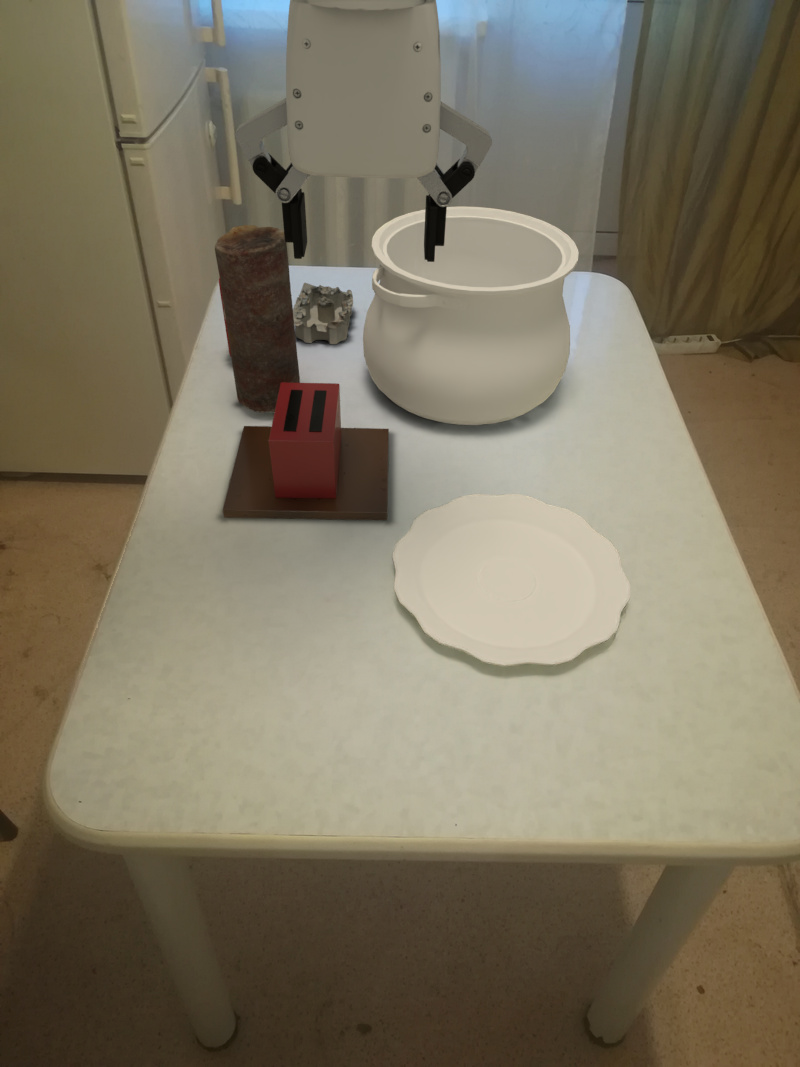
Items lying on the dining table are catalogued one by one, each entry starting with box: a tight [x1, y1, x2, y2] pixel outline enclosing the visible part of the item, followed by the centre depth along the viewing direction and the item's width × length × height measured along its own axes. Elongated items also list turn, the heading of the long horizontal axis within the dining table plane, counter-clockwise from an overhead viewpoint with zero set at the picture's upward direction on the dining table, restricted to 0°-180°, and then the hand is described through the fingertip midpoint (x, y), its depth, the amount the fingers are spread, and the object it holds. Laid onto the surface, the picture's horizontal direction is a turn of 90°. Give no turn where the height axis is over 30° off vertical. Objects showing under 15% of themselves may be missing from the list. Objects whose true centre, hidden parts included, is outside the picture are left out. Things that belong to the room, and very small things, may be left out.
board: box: [222, 425, 390, 521], centre depth 78 cm, size 16×14×1 cm
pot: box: [362, 206, 580, 426], centre depth 87 cm, size 26×24×17 cm
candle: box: [214, 224, 301, 413], centre depth 81 cm, size 8×7×20 cm
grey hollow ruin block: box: [293, 282, 354, 345], centre depth 101 cm, size 11×8×4 cm
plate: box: [391, 493, 631, 667], centre depth 68 cm, size 21×21×2 cm
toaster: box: [269, 382, 342, 499], centre depth 76 cm, size 6×11×7 cm, turn 0°
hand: (365, 252), depth 56 cm, fingers open, 9 cm apart
